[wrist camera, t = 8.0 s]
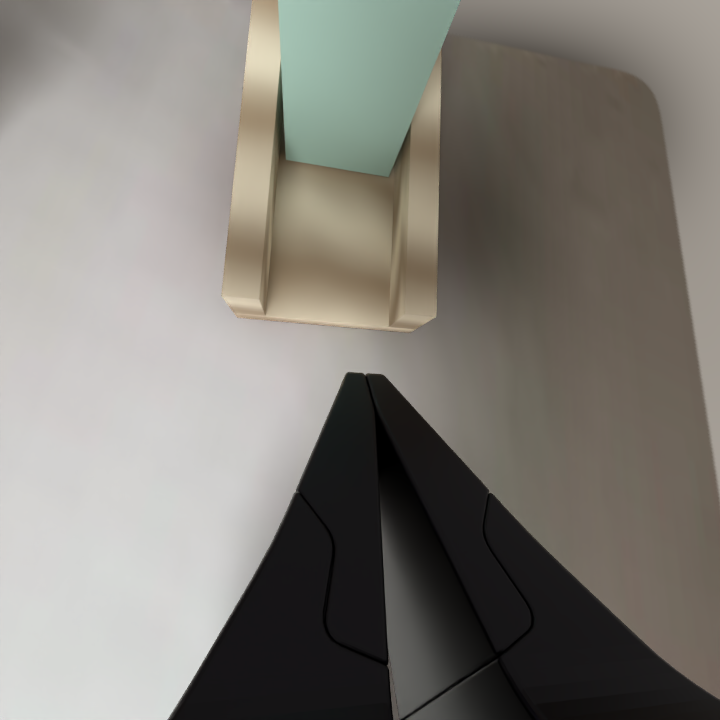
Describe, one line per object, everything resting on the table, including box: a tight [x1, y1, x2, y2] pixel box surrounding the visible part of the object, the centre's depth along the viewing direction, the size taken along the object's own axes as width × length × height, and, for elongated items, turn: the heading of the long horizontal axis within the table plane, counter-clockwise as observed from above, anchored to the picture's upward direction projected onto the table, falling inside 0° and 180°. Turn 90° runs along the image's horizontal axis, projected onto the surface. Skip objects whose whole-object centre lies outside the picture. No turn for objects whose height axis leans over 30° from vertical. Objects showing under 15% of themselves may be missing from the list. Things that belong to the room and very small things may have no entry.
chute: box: [221, 0, 442, 333], centre depth 19 cm, size 17×10×4 cm, turn 177°
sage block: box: [278, 0, 461, 177], centre depth 15 cm, size 6×6×10 cm
